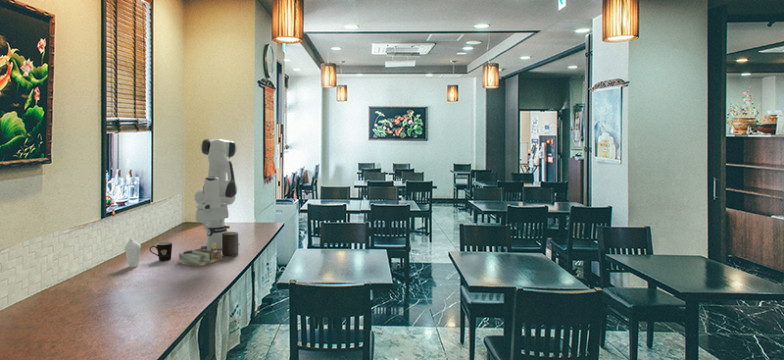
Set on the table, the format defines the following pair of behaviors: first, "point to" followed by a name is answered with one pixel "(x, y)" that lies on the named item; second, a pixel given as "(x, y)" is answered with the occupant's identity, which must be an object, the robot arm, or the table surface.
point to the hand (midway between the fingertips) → (213, 227)
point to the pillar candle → (229, 244)
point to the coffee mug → (163, 250)
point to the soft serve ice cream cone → (132, 252)
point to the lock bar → (213, 249)
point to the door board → (199, 257)
